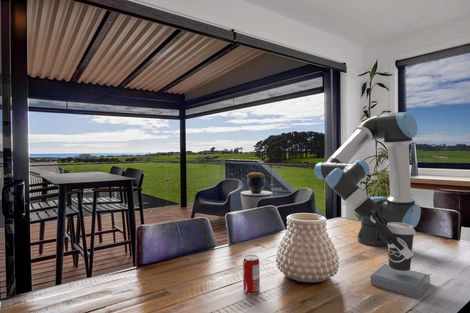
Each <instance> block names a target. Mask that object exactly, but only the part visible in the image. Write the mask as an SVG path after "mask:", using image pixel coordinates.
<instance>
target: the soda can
mask: <svg viewBox="0 0 470 313" xmlns="http://www.w3.org/2000/svg"><path fill="white" fill-rule="evenodd" d="M259 259H260V258H259V256H258V255H256V254H246V255H244V257H243V262H242V265H243V266H242V273H243V274H242V275H243V276H242V277H243V278H242V280H243V292H244V291H245V292H246V293H249V294H254V295H256V294H255V293H257V294H258V293H259V292H260V290H261V285H260V284H261V282H260V279H261V278H260V273H261V272H260V260H259ZM245 292H244V293H245ZM246 293H245V294H246ZM249 294H248V295H249Z"/></svg>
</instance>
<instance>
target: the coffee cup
mask: <svg viewBox="0 0 470 313" xmlns="http://www.w3.org/2000/svg"><path fill="white" fill-rule="evenodd" d="M387 227H388V228H389V230H390V231H391V232H392V233H393V234H394V236H395V237H396V238H397V239H399V240H400V241H401V242H402V243H403V244H404V245H405V246H406V247H407V248H408V249H409V250H410V251H411V252H412V253H413V246H414V235H415V234H416V230H415V229H414V228H413V226H412V225H410V224H406V223H398V222H390V223H387ZM391 238H392V237H391ZM386 247H387V254H388V255H387V257H388V265H389V266H390V267H391V268H393V269H396V270H400V271H408V270H411V265H412V256H411V257H410V258H409V259H406V258H405V257H404V256H403V255H402V254H401V253H400V252H399V251H398V250H397V249H396V248H395V247H394V246H393V245H392V244H391V245H389V244H388V241H387V246H386Z"/></svg>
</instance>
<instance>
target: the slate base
mask: <svg viewBox="0 0 470 313" xmlns="http://www.w3.org/2000/svg"><path fill="white" fill-rule="evenodd" d="M430 284H431V274H428V273H424V272H420V271H416V270H412V269H410V270H408V271H400V270H396V269H393V268H391V267H390V266H389V264H387V263H384V264H383V265H382V266H380V267H379V268H378V269H377V270H376V271H374V272H373V273H372V274H371V275H370V285H372V286H376V287H378V288H381V289H386V290H388V291H391V292H396V293H399V294H402V295H405V296H409V297H413V298H415V299H419V300H420V299H421V298H422V296H423V294H424V293H425V292H426V290H427V289H428V287H429V286H430Z"/></svg>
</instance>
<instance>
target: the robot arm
mask: <svg viewBox="0 0 470 313" xmlns="http://www.w3.org/2000/svg"><path fill="white" fill-rule="evenodd" d="M417 134H418V123H417V121H416V118H415V117H414V115H413V114H412V113H411V112H408V111H407V112H406V111H405V112H393V113H385V114H376V115H373V116H371V117H369V118H367V119H365V120H364V121H362V122H361V123H359V124H358V126H356V127H355V128H354V130H353V132H352V134H351V136H349V137H348V139H346V140H345V141H344V142H343V143H342V145H341V146H339V147H338V149H337V150H335V151H334V152H333V153H332V154H331V156H329V157H328V159H327V160H326V161H322V162H321V161H320V162H317V163H316V164H315V166H314V168H313V169H314V170H313V171H314V172H313V173H314V175H315V177H316V178H317V179H320V180H324V181H325V182H326V184H327V185H328V186H329V187H330V189H332V190H333V191H334V192H335V193H336V194H337V195H338V196H339V197H340V198H341V199H342V200H343V201H344V202H345V205H346V206H349V207H350V208H351V209H354V212H355V213H356V214H357V215H358V216H359V217H360V223H361V224H360V229H359V231H358V234H357V241H358V242H359V243H361V244H363V245H367V246H371V247H387V241H388V244H389V245H391V244H392V245H393V246H394V247H395V248H396V249H397V250H398V251H399V252H400V253H401V254H402V255H403V256H404V257H405V258H406V259H409V258H410V257H411V258H412V257H413V256H414V255H415V253H414V252H413V251H412V252H411V251H410V250H409V249H408V248H407V247H406V246H405V245H404V244H403V243H402V242H401V241H400V240H399V239H397V238H396V237H395V236H394V234H393V233H392V232H391V231H390V230H389V228H388V227H387V223H390V222H398V223H406V224H410V225H412V226H413V229H414V228H415V227H417V226H418V224H419V221H420V219H421V214H422V208H421V206H420V204H417V203H416V199H415V198H414V197H413V196H412V192H411V190H412V188H411V170H410V166H411V165H410V149H409V147H410V146H409V145H410V144H411V143H412V142H413V138H415V137H416V136H417ZM377 139H383V143H384V144H385V145H386V146H387V155H388V179H389V196H388V197H386V196H369V197H368V193H366V192H365V191H364V190H363V189H362V188H361V187H360V186H359V185H358V184H359V183H360V182H361V181H363V180H364V179H366V177H367V176H368V175H369V173H370V170H371V169H370V166H369V164H368V163H367V162H366V161H365V160H363V159H356V160H353V161H352V162H351V160H352V159H353V158H354V157H355V156H356V155H357V154H358V153H359V152H360V151H361V150H362V149H363V147H364V146H365V145H366V144H370V143H371V142H372V141H373V140H377ZM391 237H392V238H391Z"/></svg>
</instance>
